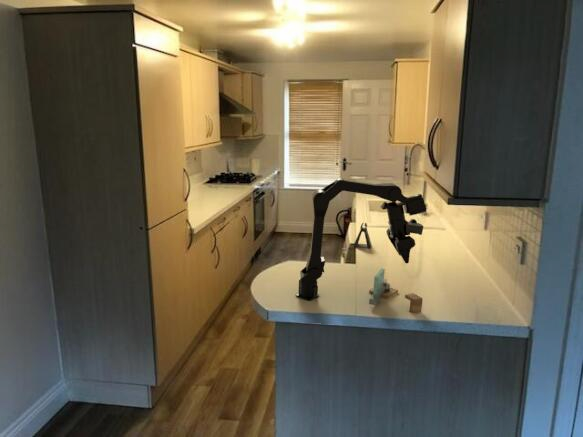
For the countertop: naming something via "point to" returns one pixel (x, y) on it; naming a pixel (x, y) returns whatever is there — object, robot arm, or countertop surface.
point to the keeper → (414, 303)
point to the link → (379, 287)
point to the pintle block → (387, 293)
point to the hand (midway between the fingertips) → (403, 259)
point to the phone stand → (365, 237)
